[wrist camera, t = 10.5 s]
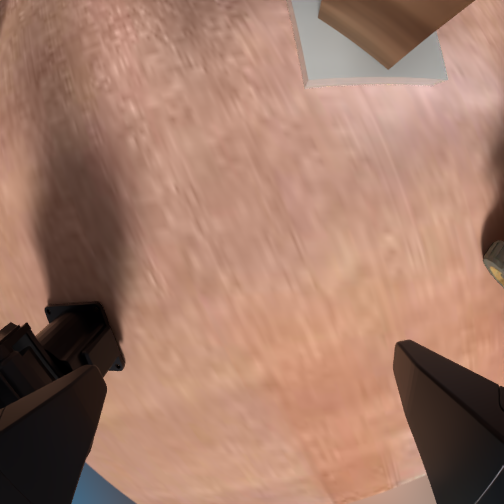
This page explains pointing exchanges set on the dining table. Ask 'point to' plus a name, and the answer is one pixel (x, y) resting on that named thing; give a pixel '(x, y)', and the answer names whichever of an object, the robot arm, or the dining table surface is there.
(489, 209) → the dining table surface
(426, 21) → the walnut block
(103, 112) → the dining table surface
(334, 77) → the grey block
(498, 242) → the toy car
